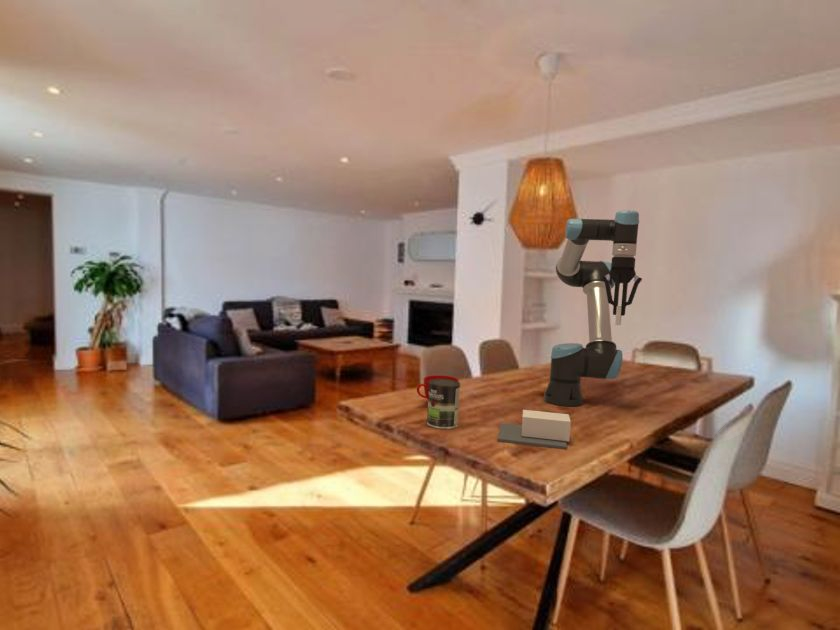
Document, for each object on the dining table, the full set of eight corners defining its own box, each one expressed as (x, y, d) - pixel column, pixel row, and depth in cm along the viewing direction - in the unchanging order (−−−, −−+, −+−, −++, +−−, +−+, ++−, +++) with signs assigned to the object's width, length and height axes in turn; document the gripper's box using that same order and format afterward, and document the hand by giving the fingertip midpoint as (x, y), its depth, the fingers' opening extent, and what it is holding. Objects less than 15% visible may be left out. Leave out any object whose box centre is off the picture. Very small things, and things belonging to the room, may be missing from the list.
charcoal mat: (497, 441, 145) (497, 438, 145) (500, 425, 161) (500, 422, 161) (567, 449, 141) (567, 446, 141) (563, 432, 157) (563, 429, 156)
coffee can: (443, 431, 152) (445, 387, 151) (420, 423, 159) (422, 381, 158) (464, 425, 159) (466, 383, 158) (441, 417, 167) (443, 377, 165)
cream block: (568, 414, 152) (522, 409, 155) (570, 421, 144) (522, 416, 147) (567, 433, 152) (521, 428, 155) (569, 442, 145) (521, 437, 148)
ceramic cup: (407, 403, 182) (408, 377, 181) (444, 399, 191) (445, 374, 190) (425, 413, 171) (427, 385, 170) (464, 407, 180) (465, 381, 179)
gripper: (601, 255, 167) (596, 323, 169) (643, 256, 160) (637, 327, 163) (605, 256, 173) (600, 322, 176) (645, 257, 167) (639, 325, 169)
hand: (618, 324), depth 169 cm, fingers closed
